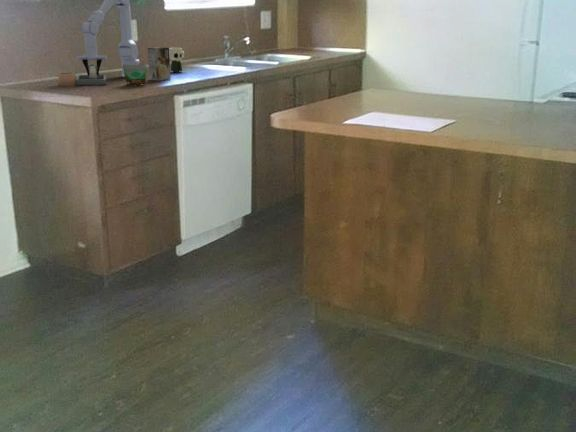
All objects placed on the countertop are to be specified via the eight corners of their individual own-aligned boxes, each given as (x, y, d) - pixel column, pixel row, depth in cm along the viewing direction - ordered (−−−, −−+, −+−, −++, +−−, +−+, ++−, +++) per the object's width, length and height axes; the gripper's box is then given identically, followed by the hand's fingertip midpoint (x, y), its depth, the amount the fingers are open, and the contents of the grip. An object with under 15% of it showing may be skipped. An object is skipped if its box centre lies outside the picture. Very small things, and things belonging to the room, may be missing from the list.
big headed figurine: (171, 73, 402) (170, 49, 398) (164, 72, 407) (163, 48, 403) (188, 72, 409) (187, 48, 405) (181, 70, 414) (180, 47, 410)
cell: (97, 77, 369) (96, 63, 367) (97, 78, 365) (96, 64, 363) (89, 77, 368) (88, 64, 366) (89, 78, 364) (88, 64, 362)
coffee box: (163, 78, 383) (161, 46, 378) (170, 79, 379) (169, 47, 374) (148, 79, 377) (147, 47, 372) (156, 80, 373) (155, 48, 368)
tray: (106, 79, 376) (105, 74, 375) (105, 84, 357) (105, 79, 356) (77, 80, 373) (77, 75, 372) (76, 85, 354) (75, 80, 353)
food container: (126, 86, 351) (125, 65, 348) (123, 85, 357) (122, 64, 354) (151, 85, 357) (150, 64, 354) (147, 83, 362) (146, 63, 359)
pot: (76, 84, 359) (75, 71, 357) (75, 86, 351) (74, 73, 349) (59, 84, 357) (58, 71, 355) (58, 86, 350) (57, 73, 348)
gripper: (75, 47, 356) (77, 76, 361) (106, 47, 360) (108, 75, 364) (76, 46, 363) (78, 74, 367) (106, 46, 366) (108, 73, 370)
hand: (93, 74), depth 366 cm, fingers closed on cell, 4 cm apart
